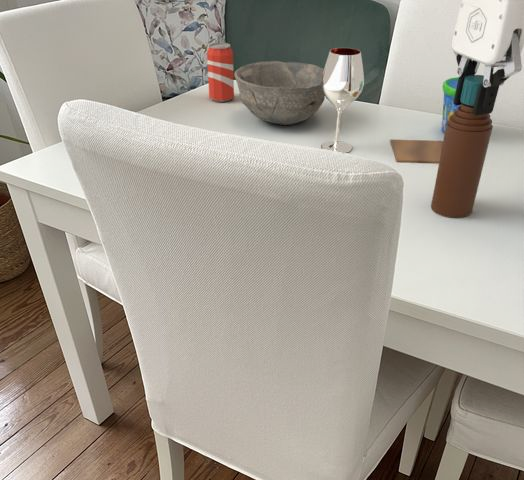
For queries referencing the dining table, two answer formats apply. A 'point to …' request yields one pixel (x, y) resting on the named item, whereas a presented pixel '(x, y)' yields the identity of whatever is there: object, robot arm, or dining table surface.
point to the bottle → (461, 162)
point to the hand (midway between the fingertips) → (472, 107)
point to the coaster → (417, 150)
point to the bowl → (281, 90)
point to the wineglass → (342, 87)
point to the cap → (471, 89)
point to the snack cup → (449, 100)
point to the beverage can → (220, 72)
